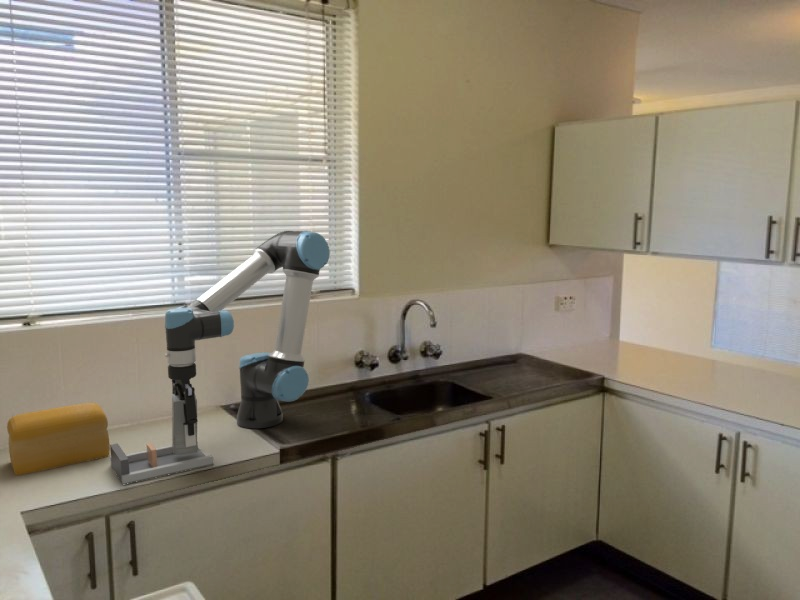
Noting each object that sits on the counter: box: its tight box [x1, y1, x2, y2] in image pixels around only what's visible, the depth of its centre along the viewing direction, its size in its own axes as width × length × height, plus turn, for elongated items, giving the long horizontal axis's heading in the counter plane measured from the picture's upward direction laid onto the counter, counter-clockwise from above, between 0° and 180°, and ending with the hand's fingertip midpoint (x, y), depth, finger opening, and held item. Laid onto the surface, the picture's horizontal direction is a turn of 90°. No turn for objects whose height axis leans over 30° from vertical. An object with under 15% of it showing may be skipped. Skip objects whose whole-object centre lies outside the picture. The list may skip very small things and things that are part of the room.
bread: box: [6, 402, 111, 476], centre depth 192 cm, size 24×13×15 cm, turn 125°
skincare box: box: [171, 393, 198, 455], centre depth 189 cm, size 8×7×16 cm
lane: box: [109, 441, 215, 485], centre depth 187 cm, size 24×16×6 cm, turn 124°
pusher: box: [146, 442, 157, 467], centre depth 185 cm, size 1×6×5 cm, turn 33°
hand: (185, 440), depth 190 cm, fingers closed on skincare box, 9 cm apart
